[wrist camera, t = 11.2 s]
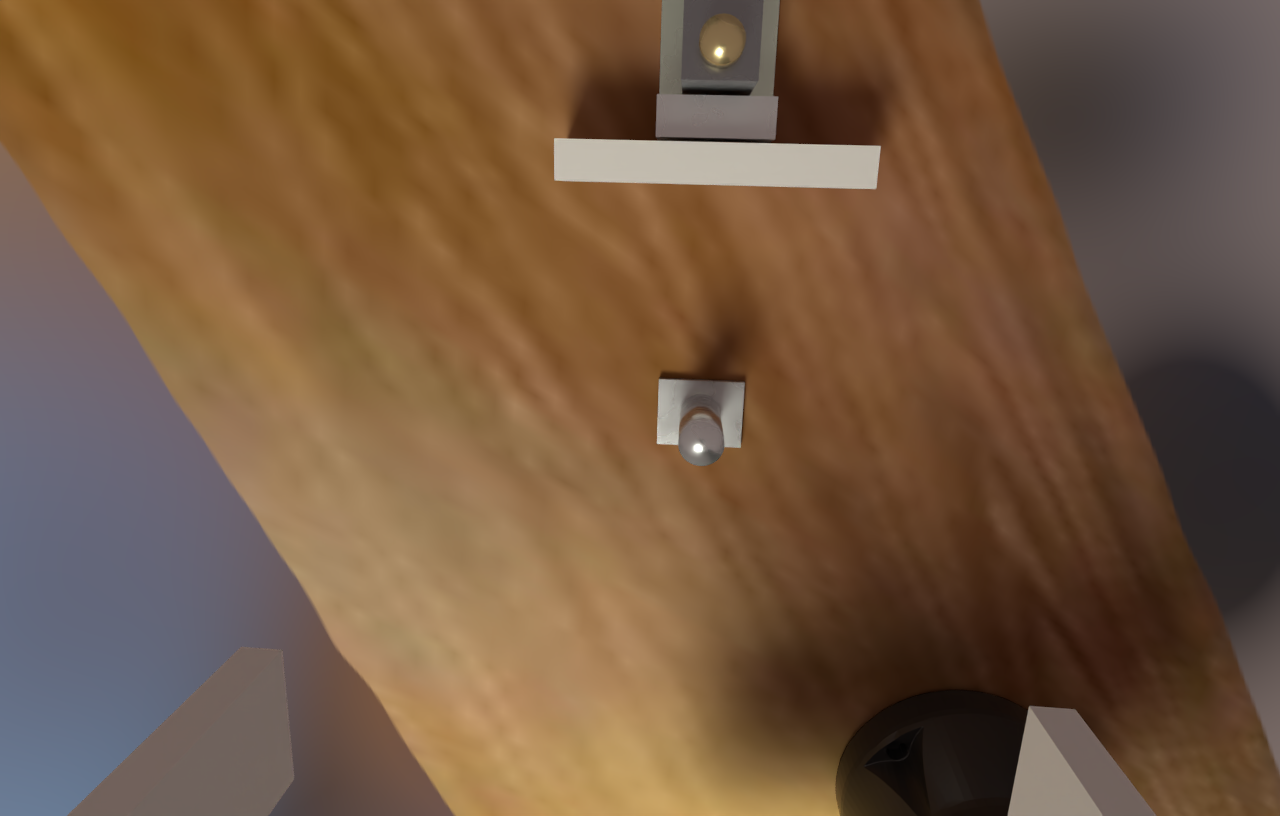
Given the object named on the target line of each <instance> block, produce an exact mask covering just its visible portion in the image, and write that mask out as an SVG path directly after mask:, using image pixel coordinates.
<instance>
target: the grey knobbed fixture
mask: <svg viewBox="0 0 1280 816" xmlns="http://www.w3.org/2000/svg"><path fill="white" fill-rule="evenodd" d="M744 387H745V382H744V381H731V380H706V379H682V378H659V395H658V425H657V444H672V445H678V446H679V451H680V453H681V455H682V457H683V458H684V459H685V460H686V461H688V462H689V463H691V464H694V465H697V466H705V465H709V464H712V463H714V462H715V461H717V460H718V459H719V458H720V456H721V455H722V453H723V450H724V447H738V448H740V447H741V432H742V417H743V402H744Z"/></svg>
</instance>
